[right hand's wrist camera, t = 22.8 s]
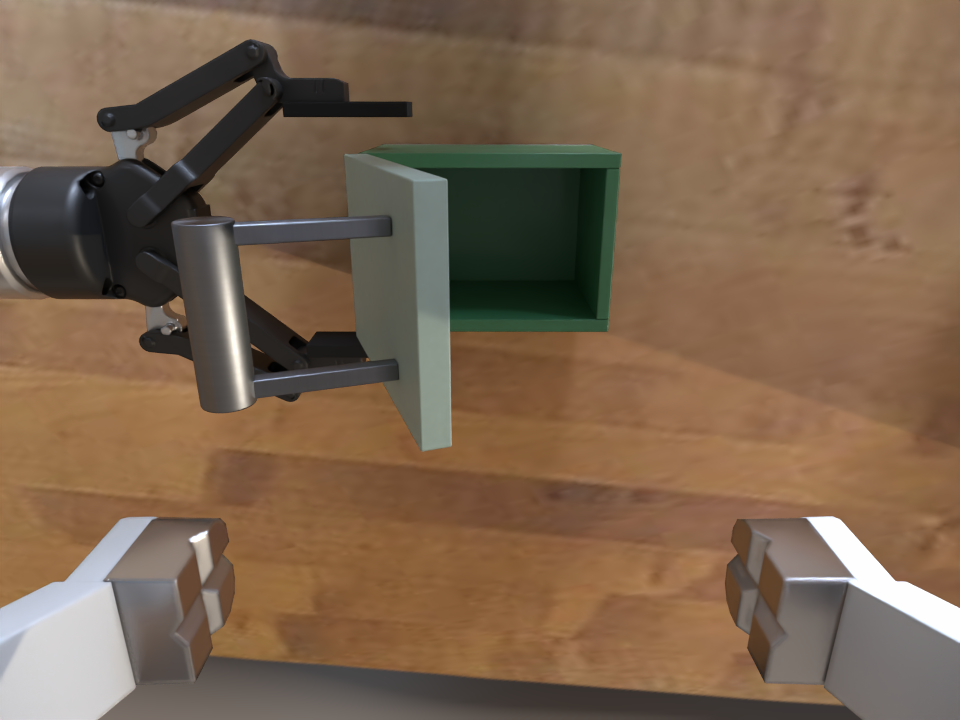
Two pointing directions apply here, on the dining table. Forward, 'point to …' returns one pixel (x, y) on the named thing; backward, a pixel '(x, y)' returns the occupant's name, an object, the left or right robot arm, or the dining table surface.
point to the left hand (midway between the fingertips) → (414, 234)
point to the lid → (376, 287)
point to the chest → (525, 232)
